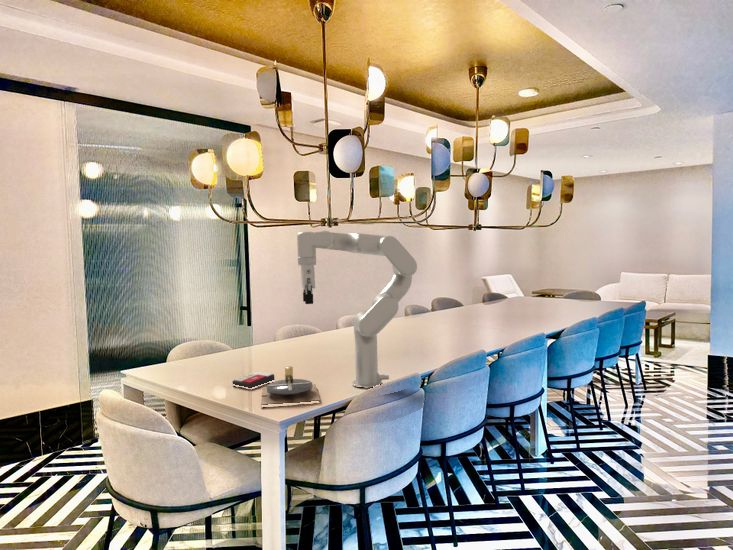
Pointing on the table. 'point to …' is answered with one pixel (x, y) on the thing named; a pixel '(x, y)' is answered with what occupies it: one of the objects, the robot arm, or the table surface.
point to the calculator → (254, 379)
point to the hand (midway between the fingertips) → (308, 302)
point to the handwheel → (289, 385)
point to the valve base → (289, 397)
